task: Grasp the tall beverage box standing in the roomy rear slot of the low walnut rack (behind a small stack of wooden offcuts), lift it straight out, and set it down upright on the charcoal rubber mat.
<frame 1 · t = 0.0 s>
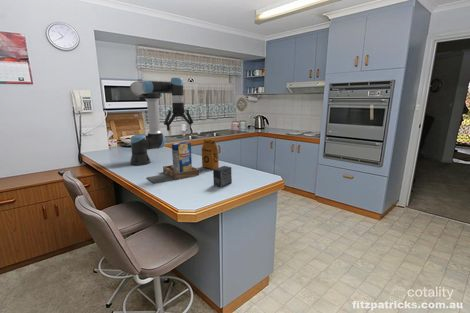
hand: (179, 134, 169), 28 cm above the table, fingers open, 13 cm apart
rack: (180, 173, 177), on the table
offcut stack: (176, 171, 183), resting in rack
coffee package: (210, 167, 193), on the table
beverage box: (183, 174, 175), resting in rack
mat: (160, 178, 165), on the table
small box: (222, 184, 156), on the table
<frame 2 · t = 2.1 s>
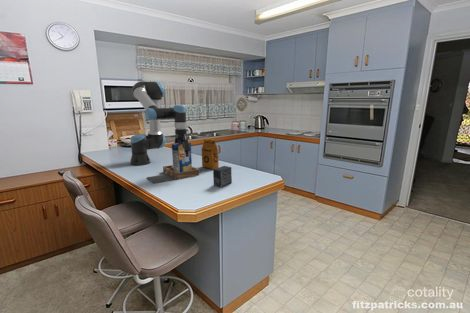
hand: (182, 159, 172), 11 cm above the table, fingers open, 13 cm apart
nothing on the table moved.
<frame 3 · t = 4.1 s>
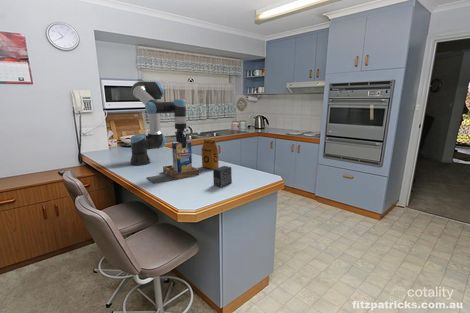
hand: (181, 157, 172), 12 cm above the table, fingers closed on beverage box, 2 cm apart
beverage box: (182, 173, 175), resting in rack, touching gripper
everything else where it was.
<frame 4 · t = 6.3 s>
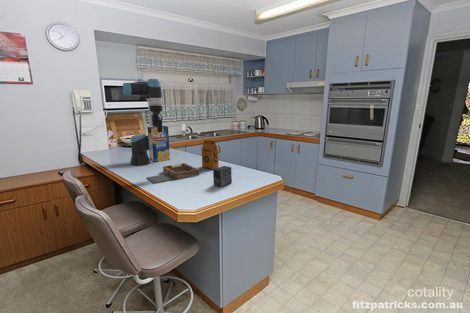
hand: (158, 142, 160), 24 cm above the table, fingers closed on beverage box, 2 cm apart
beverage box: (160, 160, 163), point 12 cm above the table, touching gripper, hand
everything else where it was.
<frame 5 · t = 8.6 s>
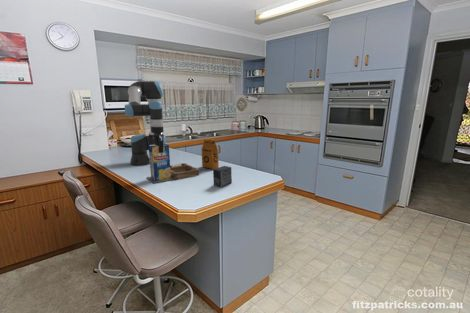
hand: (159, 162, 163), 11 cm above the table, fingers closed
beverage box: (161, 178, 165), resting on mat
everything else where it was.
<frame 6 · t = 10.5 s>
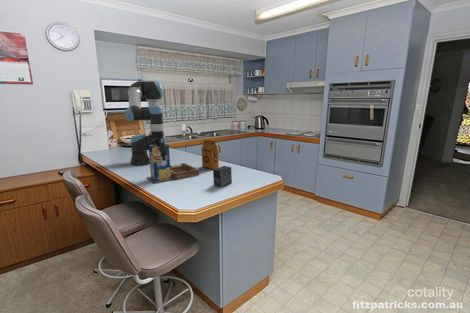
hand: (159, 163, 163), 11 cm above the table, fingers open, 13 cm apart
nothing on the table moved.
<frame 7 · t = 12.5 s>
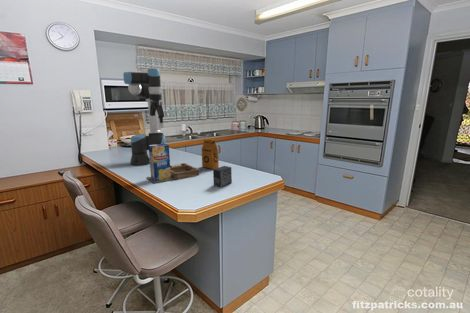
hand: (157, 126, 167), 33 cm above the table, fingers open, 13 cm apart
nothing on the table moved.
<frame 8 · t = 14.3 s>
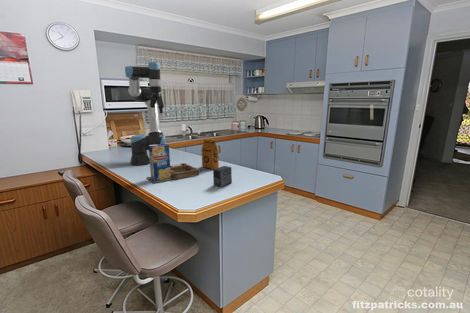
hand: (157, 117, 177), 39 cm above the table, fingers open, 13 cm apart
nothing on the table moved.
at the end: beverage box 0.2 cm from the mat (horizontally); beverage box tilted 0°; the gripper is holding nothing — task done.
